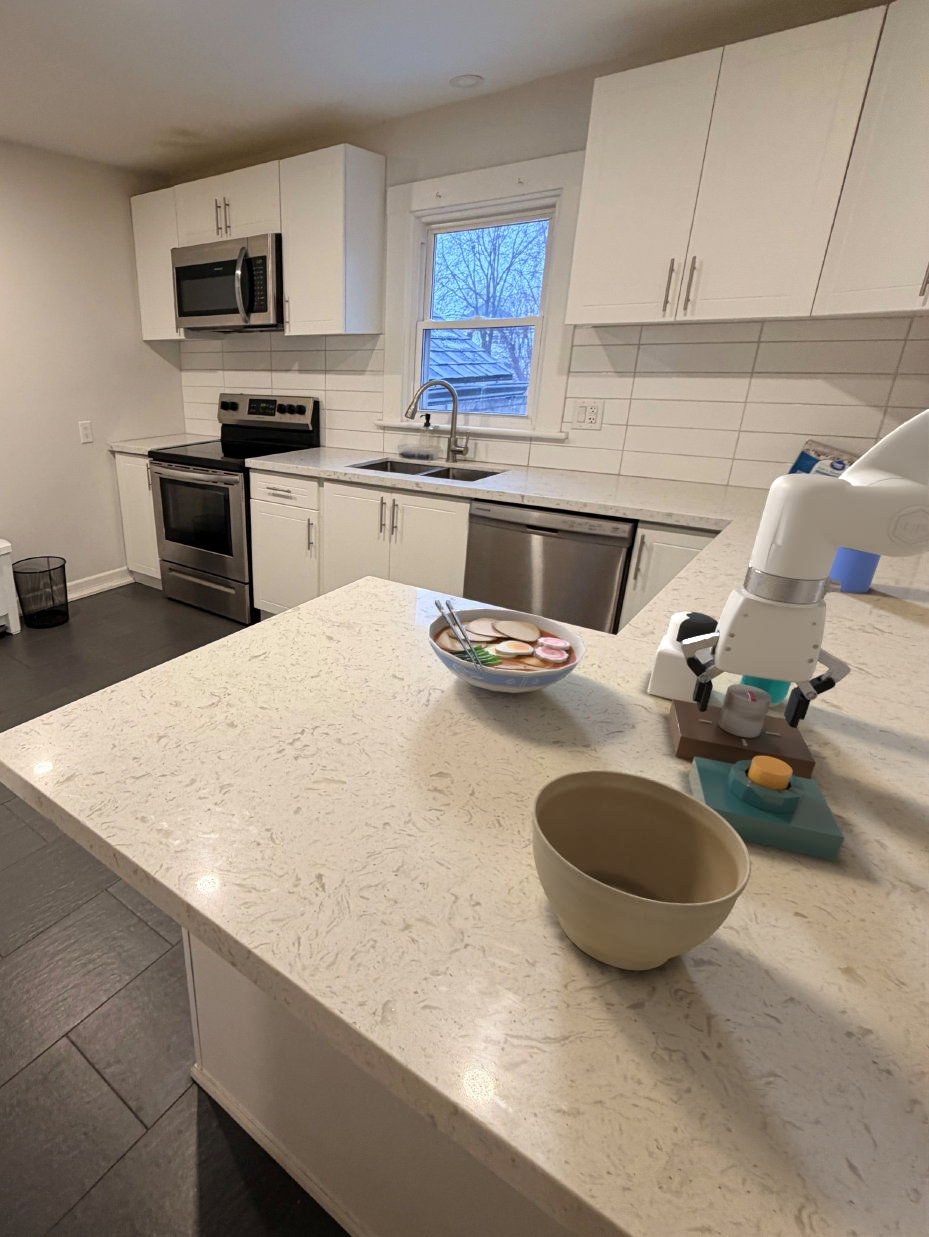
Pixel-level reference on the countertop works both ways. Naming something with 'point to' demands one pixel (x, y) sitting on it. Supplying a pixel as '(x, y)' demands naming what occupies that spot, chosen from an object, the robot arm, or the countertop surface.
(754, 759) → the yellow push button
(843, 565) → the water bottle
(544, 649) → the ramen bowl
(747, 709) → the tap knob
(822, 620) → the robot arm
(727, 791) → the button base
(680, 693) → the medicine bottle
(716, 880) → the planter bowl
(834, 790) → the countertop surface
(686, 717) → the panel
